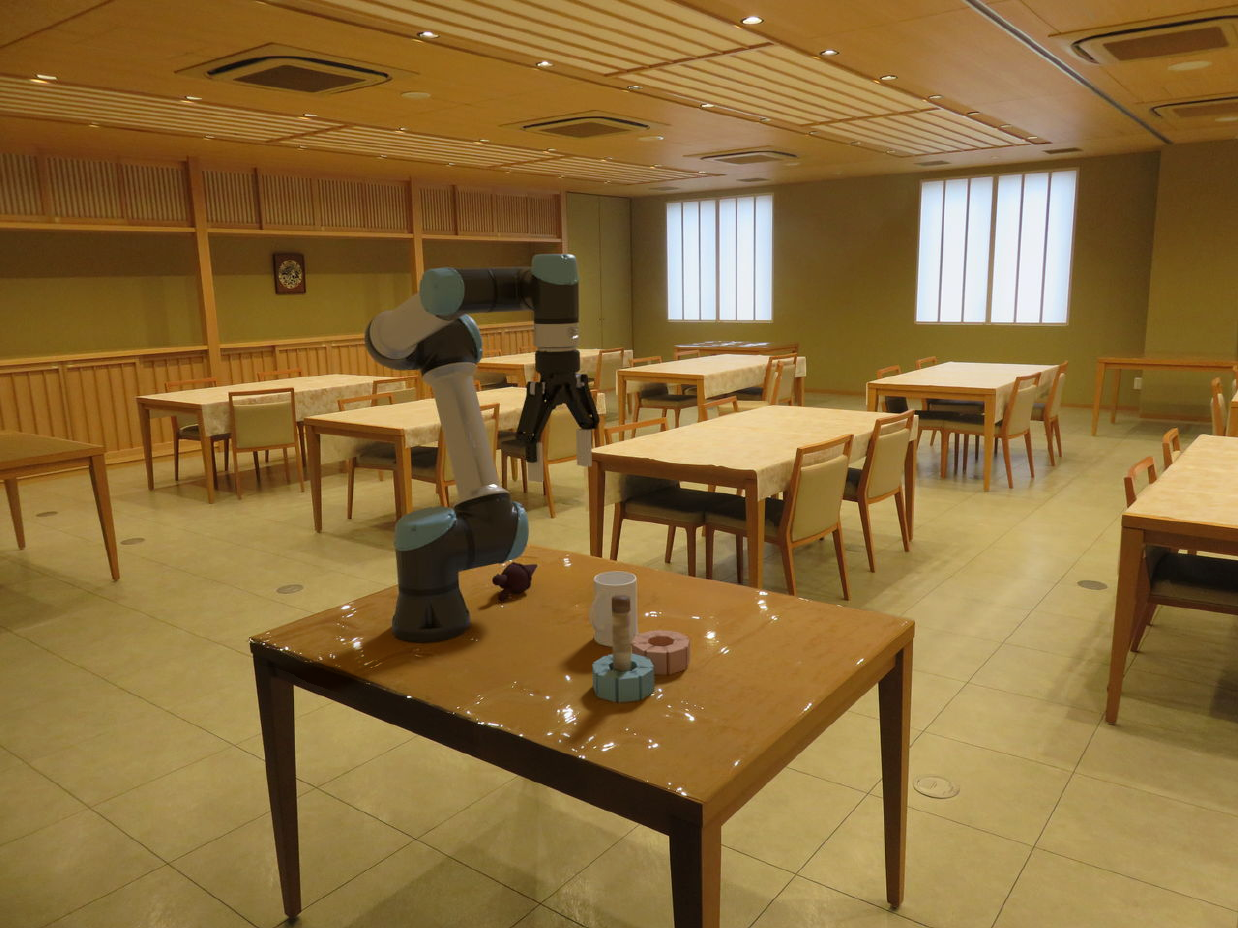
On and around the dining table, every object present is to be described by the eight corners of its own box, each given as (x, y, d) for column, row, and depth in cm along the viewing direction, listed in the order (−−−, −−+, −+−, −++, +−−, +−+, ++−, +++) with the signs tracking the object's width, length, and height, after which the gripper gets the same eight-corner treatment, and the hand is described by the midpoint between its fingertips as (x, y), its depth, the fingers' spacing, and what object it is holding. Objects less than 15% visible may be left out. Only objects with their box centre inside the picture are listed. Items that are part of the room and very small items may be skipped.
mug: (605, 656, 163) (604, 593, 161) (572, 644, 169) (570, 583, 166) (648, 636, 172) (647, 576, 169) (615, 625, 177) (613, 567, 175)
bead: (582, 692, 149) (581, 669, 149) (615, 670, 157) (615, 649, 156) (631, 707, 144) (631, 683, 143) (663, 683, 152) (663, 661, 151)
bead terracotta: (628, 672, 157) (628, 650, 156) (639, 649, 166) (638, 628, 165) (684, 676, 155) (684, 654, 154) (692, 652, 164) (692, 632, 163)
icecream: (519, 552, 205) (478, 577, 192) (544, 548, 201) (504, 574, 188) (528, 580, 206) (488, 607, 193) (553, 577, 202) (514, 604, 189)
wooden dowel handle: (609, 690, 150) (607, 598, 147) (620, 683, 152) (618, 593, 149) (625, 694, 148) (623, 602, 145) (635, 687, 151) (633, 596, 147)
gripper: (526, 356, 138) (531, 490, 143) (617, 343, 158) (619, 461, 163) (489, 354, 142) (495, 485, 147) (583, 342, 163) (586, 457, 167)
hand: (560, 473), depth 155 cm, fingers open, 13 cm apart
